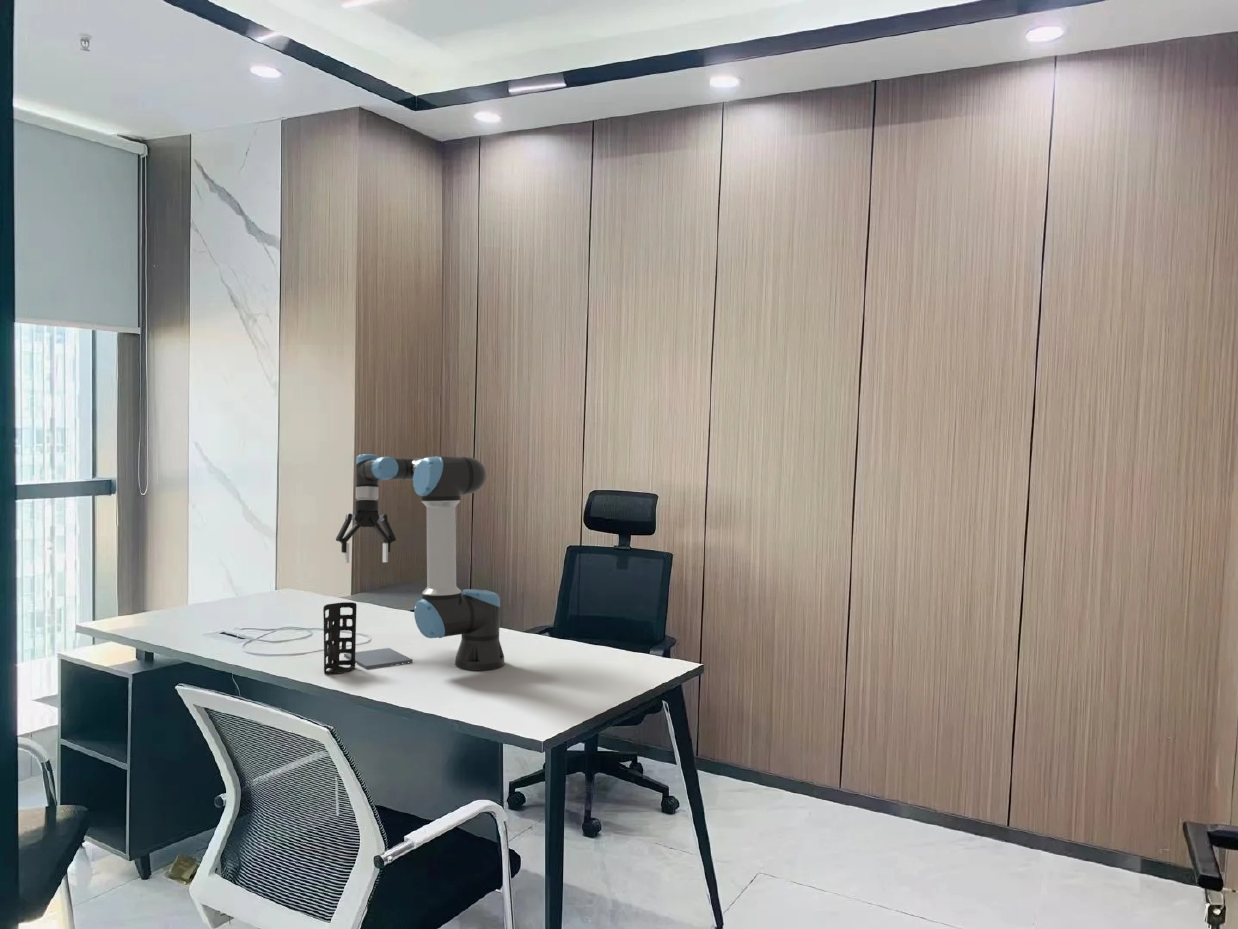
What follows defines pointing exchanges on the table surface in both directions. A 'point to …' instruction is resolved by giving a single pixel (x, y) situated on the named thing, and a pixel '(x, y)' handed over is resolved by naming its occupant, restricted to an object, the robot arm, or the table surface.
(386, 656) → the mat
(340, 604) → the holder
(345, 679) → the table surface
